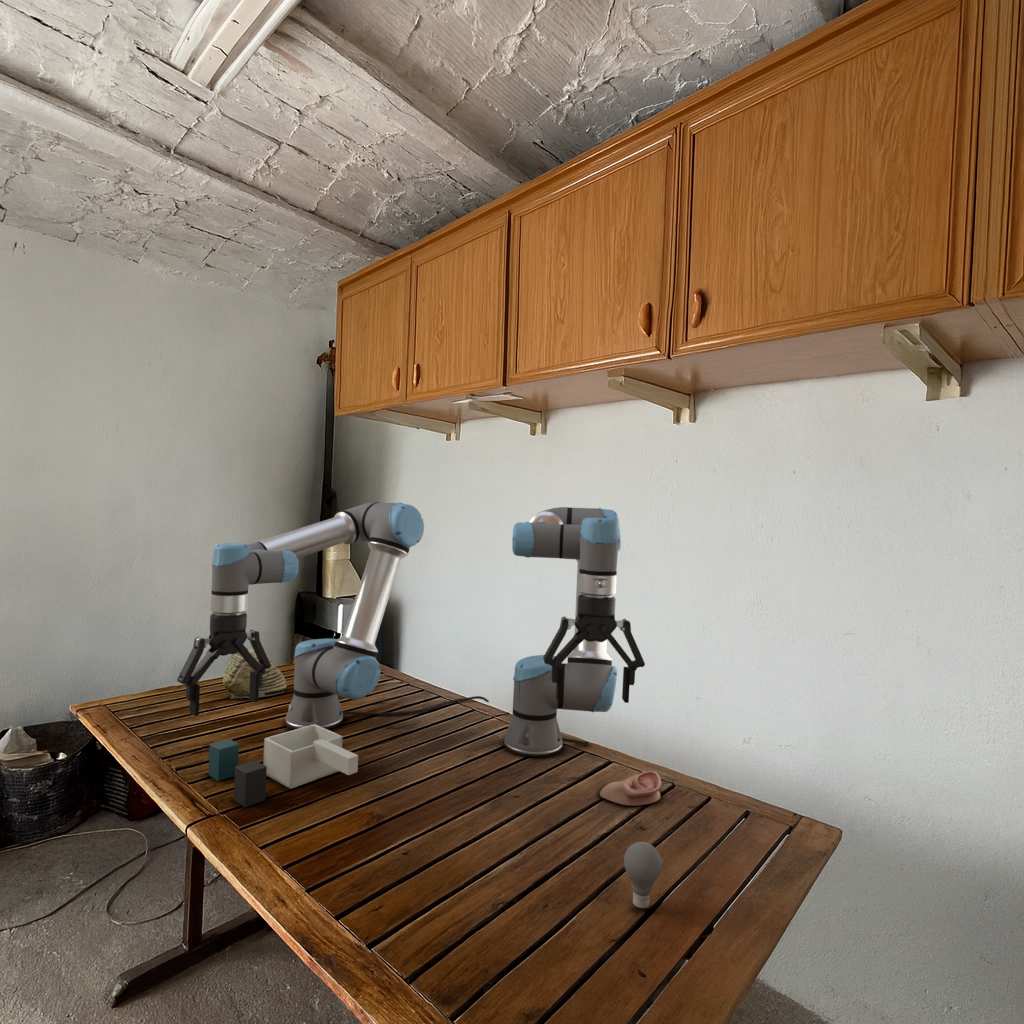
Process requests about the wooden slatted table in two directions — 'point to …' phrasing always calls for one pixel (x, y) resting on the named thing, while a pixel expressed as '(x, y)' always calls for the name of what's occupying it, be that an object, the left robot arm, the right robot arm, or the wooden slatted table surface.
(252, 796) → the charcoal block
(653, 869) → the light bulb
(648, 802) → the anatomical model
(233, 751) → the teal block
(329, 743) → the handled box
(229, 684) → the fossil
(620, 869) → the wooden slatted table surface
